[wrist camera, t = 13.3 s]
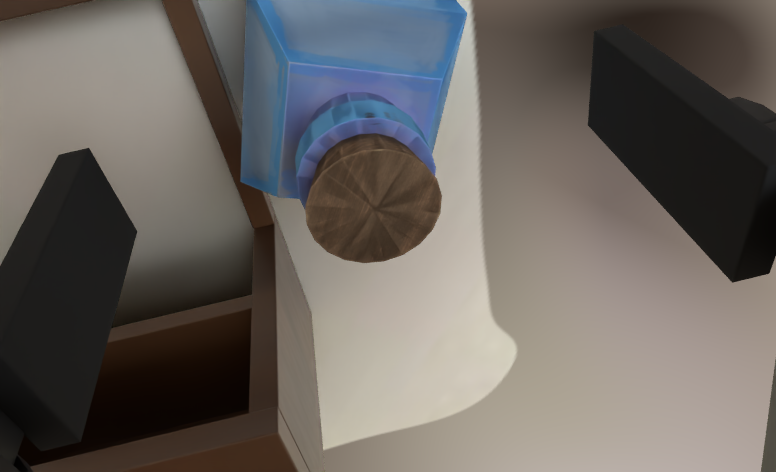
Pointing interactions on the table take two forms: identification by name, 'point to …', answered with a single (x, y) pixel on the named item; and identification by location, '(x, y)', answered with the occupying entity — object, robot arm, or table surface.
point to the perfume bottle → (350, 115)
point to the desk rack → (205, 340)
